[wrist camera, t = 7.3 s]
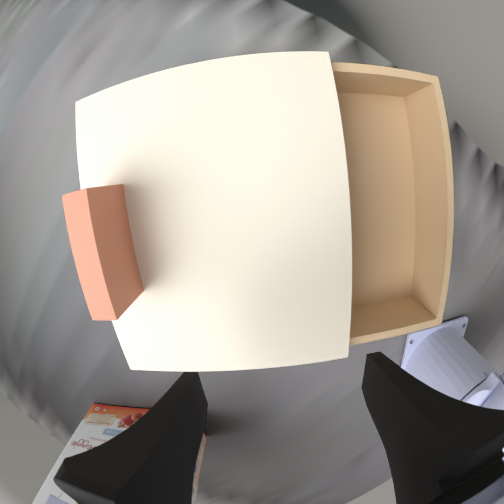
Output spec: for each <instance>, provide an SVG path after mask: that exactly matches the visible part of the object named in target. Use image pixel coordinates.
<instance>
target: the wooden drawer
mask: <svg viewBox="0 0 504 504" xmlns="http://www.w3.org/2000/svg"><path fill="white" fill-rule="evenodd" d="M331 66H332V70H333V75H334V80H335V85H336V91H337V96H338V102H339V108H340V114H341V121H342V128H343V135H344V143H345V151H346V160H347V170H348V182H349V195H350V211H351V234H352V300H351V323H350V339H349V346H350V345H356V344H361V343H366V342H371V341H376V340H381V339H386V338H390V337H394V336H399V335H403V334H407V333H411V332H415V331H419V330H423V329H426V328H430V327H433V326H437V325H440V324H441V323H442V318H443V313H444V308H445V303H446V297H447V291H448V284H449V277H450V268H451V259H452V247H453V230H454V182H453V166H452V154H451V145H450V137H449V130H448V123H447V117H446V111H445V106H444V101H443V97H442V92H441V88H440V84H439V80H438V77H437V76H432V75H428V74H424V73H419V72H413V71H408V70H403V69H397V68H390V67H383V66H375V65H366V64H355V63H339V62H331Z"/></svg>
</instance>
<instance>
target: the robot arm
mask: <svg viewBox="0 0 504 504" xmlns="http://www.w3.org/2000/svg"><path fill="white" fill-rule="evenodd" d="M467 323H468V318H467V317H466V316H463V317H460V318H457V319H454V320H450V321H447V322H444V323H441V324H440V325H437V326H433V327H430V328H426V329H423V330H419V331H415V332H411V333H409V334H408V335H407V340H406V345H405V350H404V354H403V359H402V363H401V367H400V366H398V365H397V364H396V363H394V362H393V361H392V360H390V359H389V358H388V357H386V356H385V355H384V354H382V353H381V352H375V353H370V354H367V357H366V364H365V371H364V377H363V383H362V391H363V394H364V398H365V401H366V405H367V407H368V410H369V412H370V414H371V417H372V419H373V421H374V423H375V426H376V428H377V430H378V433H379V435H380V437H381V440H382V442H383V445H384V447H385V450H386V454H387V457H388V461H389V465H390V469H391V474H392V478H393V483H394V489H395V496H396V503H397V504H504V373H503V374H502V375H500V374H499V373H498V372H497V371H496V370H495V369H494V368H493V367H492V366H491V365H490V364H489V363H488V362H487V361H486V360H485V358H484V357H483V356H482V355H481V354H480V353H479V352H478V351H477V350H476V349H475V348H473V347H472V346H471V345H470V344H469V343H468V342H467V341H466V340H465V339H464V334H465V330H466V327H467ZM411 340H412V341H411ZM410 341H411V342H410ZM207 405H208V403H207V400H206V397H205V394H204V391H203V388H202V385H201V381H200V378H199V375H198V372H184V373H183V374H182V375H181V376H180V377H179V378H178V380H177V381H176V382H175V383H174V384H173V385H172V387H171V388H170V389H169V390H168V391H167V392H166V393H165V394H164V395H163V396H162V398H161V399H160V400H159V401H158V402H157V403H156V404H155V405H154V406H153V407H152V408H151V409H150V410H149V411H148V412H147V413H146V414H144V415H143V416H142V417H141V418H140V419H139V420H138V421H136V422H135V423H134V424H133V425H131V426H130V427H129V428H127V429H126V430H124V431H123V432H121V433H120V434H118V435H116V436H115V437H113V438H112V439H110V440H108V441H107V442H105V443H103V444H101V445H99V446H97V447H94V448H92V449H90V450H87V451H85V452H82V453H79V454H76V455H73V456H70V457H67V458H65V459H64V460H63V462H62V464H61V466H60V467H59V469H58V471H57V473H56V475H55V476H54V478H53V480H54V483H55V484H56V485H57V486H58V487H59V488H60V489H61V490H62V491H63V492H65V493H66V494H67V495H68V496H70V497H71V498H72V499H73V500H75V501H76V502H77V503H78V504H192V491H193V480H194V471H195V466H196V461H197V457H198V453H199V449H200V445H201V441H202V437H203V433H204V428H205V424H206V416H207ZM45 504H69V503H67V502H65V501H63V500H61V499H59V498H57V497H56V496H54V495H52V494H50V495H49V497H48V498H47V500H46V503H45Z"/></svg>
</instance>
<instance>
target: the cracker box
mask: <svg viewBox="0 0 504 504" xmlns="http://www.w3.org/2000/svg"><path fill="white" fill-rule="evenodd" d="M149 410H150V409H141V408H130V407H120V406H110V405H103V404H96V403H93V405H92V406H91V408H90V409H89V411H88V412H87V414H86V415H85V417H84V418H83V420H82V421H81V423H80V424H79V426H78V428H77V429H76V431H75V432H74V434H73V435H72V437H71V439H70V440H69V442H68V443H67V445H66V447H65V448H64V450H63V452H62V453H61V455H60V456H59V458H58V460H57V462H56V463H55V465H54V467H53V468H52V470H51V471H50V473H49V475H48V477H47V478H46V480H45V482H44V484H43V485H42V487H41V489H40V491H39V492H38V494H37V496H36V498H35V499H34V501H33V503H32V504H45V503H46V500H47V498H48V497H49V495H50V494H52V495H54V496H56V497H57V498H59V499H61V500H63V501H65V502H67V503H69V504H78V503H77V502H76V501H75V500H73V499H72V498H71V497H70V496H68V495H67V494H66V493H65V492H63V491H62V490H61V489H60V488H59V487H58V486H57V485H56V484H55V483H54V480H53V478H54V476H55V475H56V473H57V471H58V469H59V467H60V466H61V464H62V462H63V460H64V459H65V458H67V457H70V456H73V455H76V454H79V453H82V452H85V451H87V450H90V449H92V448H94V447H97V446H99V445H101V444H103V443H105V442H107V441H108V440H110V439H112V438H113V437H115V436H116V435H118V434H120V433H121V432H123V431H124V430H126V429H127V428H129V427H130V426H131V425H133V424H134V423H135V422H136V421H138V420H139V419H140V418H141V417H142V416H143V415H144V414H146V413H147V412H148V411H149ZM206 441H207V437H206V435H205V433H203V437H202V441H201V445H200V449H199V453H198V457H197V461H196V466H195V471H194V480H193V491H192V504H194V503H195V497H196V492H197V487H198V482H199V476H200V472H201V466H202V462H203V456H204V451H205V446H206Z"/></svg>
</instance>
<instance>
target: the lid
mask: <svg viewBox="0 0 504 504" xmlns="http://www.w3.org/2000/svg"><path fill="white" fill-rule="evenodd" d="M76 142H77V157H78V168H79V178H80V186H81V190H78V191H75V192H72V193H68V194H65V195H62V199H63V206H64V212H65V218H66V223H67V229H68V234H69V239H70V243H71V248H72V252H73V256H74V260H75V264H76V268H77V272H78V275H79V279H80V283H81V286H82V289H83V293H84V296H85V299H86V302H87V305H88V308H89V311H90V314H91V317H92V320H112V322H113V325H114V328H115V331H116V334H117V336H118V339H119V342H120V344H121V347H122V349H123V352H124V354H125V357H126V359H127V362H128V364H129V367H130V369H133V370H151V371H231V370H248V369H262V368H273V367H283V366H292V365H301V364H308V363H316V362H322V361H329V360H335V359H341V358H346V357H348V352H349V339H350V323H351V300H352V234H351V211H350V195H349V182H348V170H347V160H346V151H345V143H344V135H343V128H342V121H341V114H340V108H339V102H338V96H337V91H336V85H335V80H334V75H333V70H332V66H331V61H330V57H329V52H313V51H301V52H273V53H260V54H249V55H240V56H233V57H226V58H219V59H213V60H207V61H202V62H197V63H192V64H187V65H183V66H179V67H174V68H170V69H167V70H163V71H159V72H155V73H152V74H149V75H145V76H142V77H139V78H136V79H133V80H130V81H127V82H124V83H121V84H118V85H115V86H113V87H110V88H107V89H105V90H102V91H100V92H97V93H95V94H93V95H90V96H88V97H86V98H83V99H81V100H79V101H77V102H76Z"/></svg>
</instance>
